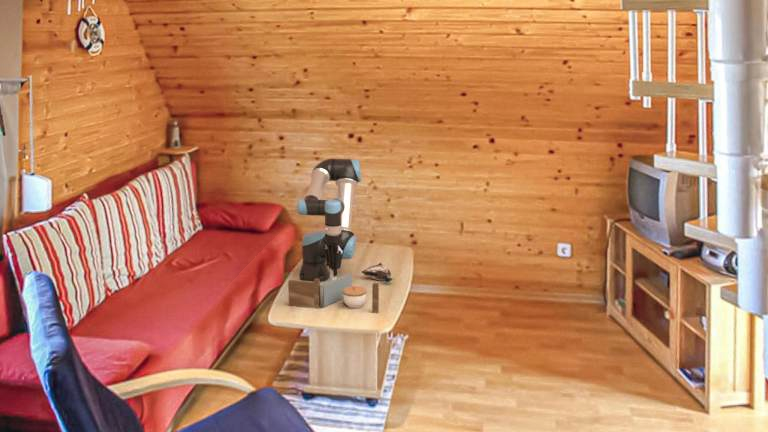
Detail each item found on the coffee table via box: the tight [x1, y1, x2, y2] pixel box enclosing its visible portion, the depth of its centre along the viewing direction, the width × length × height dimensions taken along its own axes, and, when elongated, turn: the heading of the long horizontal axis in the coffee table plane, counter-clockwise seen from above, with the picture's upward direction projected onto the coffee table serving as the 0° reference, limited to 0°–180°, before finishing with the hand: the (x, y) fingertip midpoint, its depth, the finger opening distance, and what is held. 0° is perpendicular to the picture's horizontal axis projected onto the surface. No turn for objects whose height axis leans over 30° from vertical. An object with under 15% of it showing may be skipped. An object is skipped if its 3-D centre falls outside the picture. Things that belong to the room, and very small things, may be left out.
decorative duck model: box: [361, 262, 396, 283], centre depth 352 cm, size 15×8×15 cm
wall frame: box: [287, 278, 380, 314], centre depth 316 cm, size 2×41×14 cm, turn 79°
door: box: [319, 273, 352, 309], centre depth 326 cm, size 2×22×10 cm, turn 145°
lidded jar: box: [342, 285, 367, 310], centre depth 320 cm, size 11×11×9 cm
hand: (333, 281), depth 333 cm, fingers closed
